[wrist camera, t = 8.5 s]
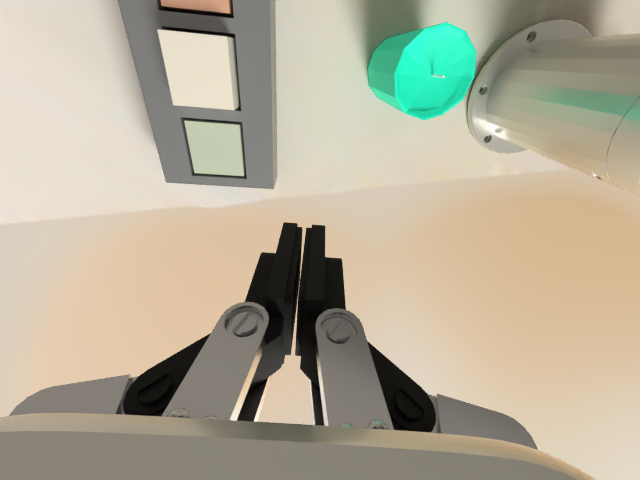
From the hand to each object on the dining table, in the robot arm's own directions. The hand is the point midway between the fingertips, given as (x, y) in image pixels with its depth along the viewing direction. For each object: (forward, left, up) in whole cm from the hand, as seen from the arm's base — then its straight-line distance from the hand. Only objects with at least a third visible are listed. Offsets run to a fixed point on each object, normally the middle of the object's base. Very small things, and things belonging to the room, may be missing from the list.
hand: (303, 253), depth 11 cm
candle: (-9, -6, -24) cm, 26 cm away
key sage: (+9, +2, -23) cm, 25 cm away
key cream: (+9, -5, -21) cm, 24 cm away
